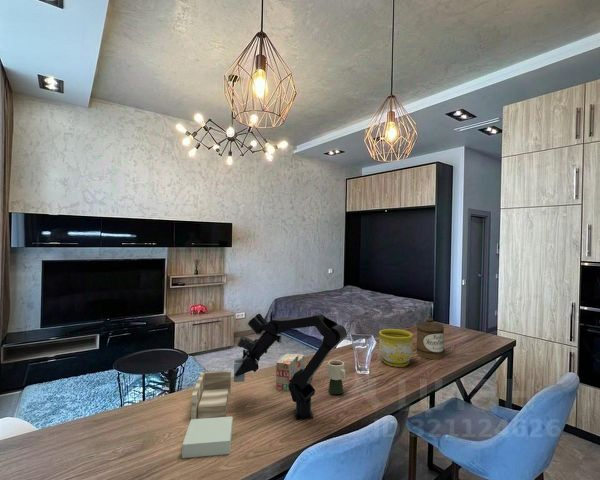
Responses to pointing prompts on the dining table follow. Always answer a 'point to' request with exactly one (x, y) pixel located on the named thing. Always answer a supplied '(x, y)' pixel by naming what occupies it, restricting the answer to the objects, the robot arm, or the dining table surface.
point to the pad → (208, 437)
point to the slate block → (237, 364)
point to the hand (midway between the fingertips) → (235, 372)
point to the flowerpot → (395, 347)
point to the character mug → (336, 376)
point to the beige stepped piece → (211, 394)
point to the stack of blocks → (288, 369)
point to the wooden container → (430, 339)
